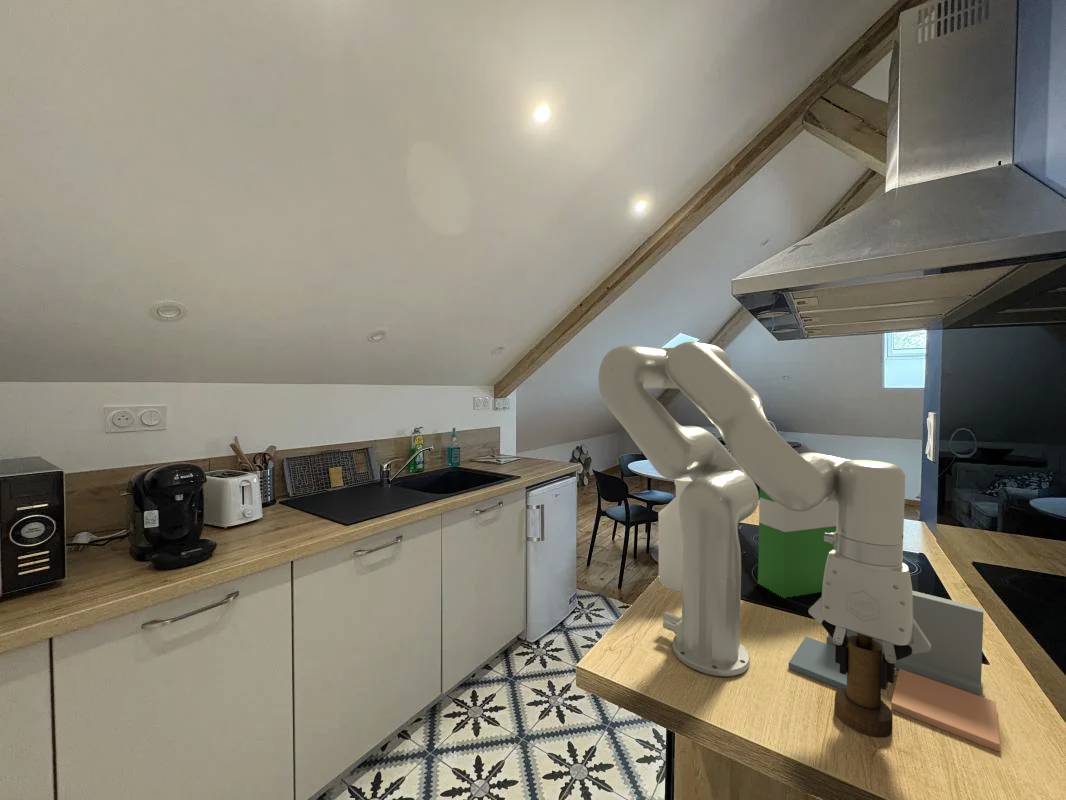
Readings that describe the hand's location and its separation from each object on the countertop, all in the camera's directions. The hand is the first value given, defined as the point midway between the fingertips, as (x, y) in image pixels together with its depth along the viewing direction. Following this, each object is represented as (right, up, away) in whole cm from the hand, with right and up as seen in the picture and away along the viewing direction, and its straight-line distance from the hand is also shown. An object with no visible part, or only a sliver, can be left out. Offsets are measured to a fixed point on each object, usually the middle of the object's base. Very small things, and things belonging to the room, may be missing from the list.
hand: (863, 675), depth 63 cm
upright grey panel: (+16, -6, +14) cm, 22 cm away
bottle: (-11, -5, +45) cm, 46 cm away
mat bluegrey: (+4, -6, +12) cm, 14 cm away
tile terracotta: (+14, -6, +2) cm, 15 cm away
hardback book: (+17, -5, +43) cm, 46 cm away
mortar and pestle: (0, -6, 0) cm, 6 cm away
